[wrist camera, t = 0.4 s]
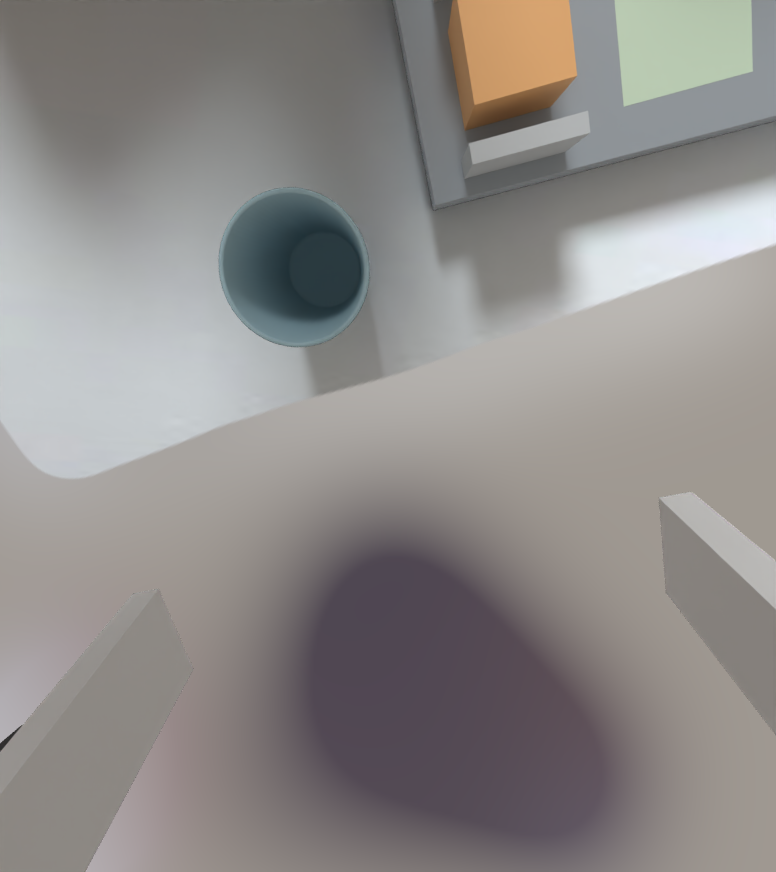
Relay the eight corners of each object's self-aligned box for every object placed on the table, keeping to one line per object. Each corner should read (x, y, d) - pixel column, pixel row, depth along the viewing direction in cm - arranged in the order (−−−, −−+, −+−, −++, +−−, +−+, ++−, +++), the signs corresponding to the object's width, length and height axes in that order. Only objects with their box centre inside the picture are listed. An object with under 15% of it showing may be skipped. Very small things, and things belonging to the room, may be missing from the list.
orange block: (447, 31, 29) (454, -16, 24) (537, 4, 28) (563, -50, 23) (464, 130, 30) (474, 105, 25) (550, 107, 29) (577, 75, 25)
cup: (392, 222, 35) (382, 204, 25) (371, 335, 37) (355, 360, 27) (280, 199, 34) (226, 172, 25) (267, 314, 37) (213, 331, 27)
